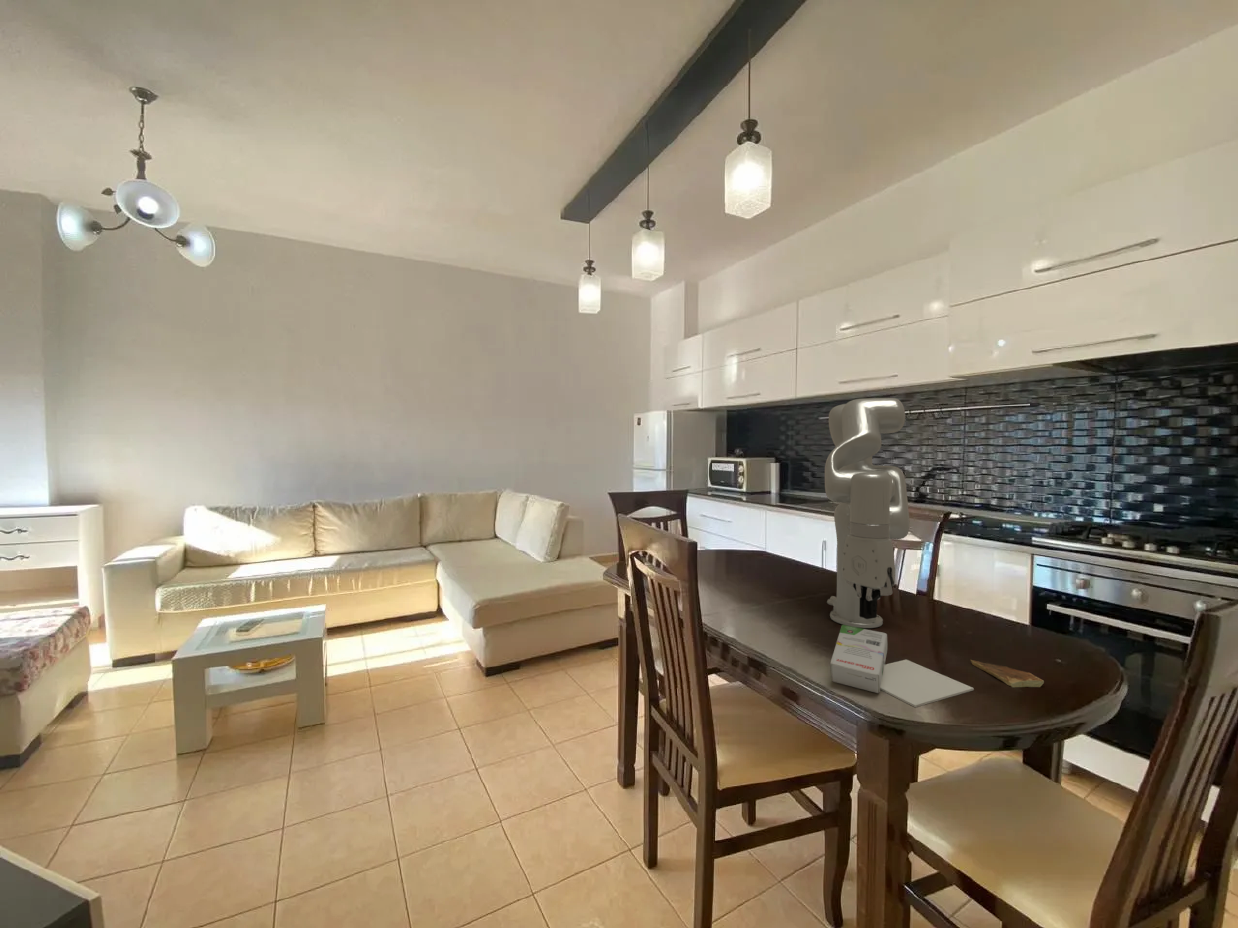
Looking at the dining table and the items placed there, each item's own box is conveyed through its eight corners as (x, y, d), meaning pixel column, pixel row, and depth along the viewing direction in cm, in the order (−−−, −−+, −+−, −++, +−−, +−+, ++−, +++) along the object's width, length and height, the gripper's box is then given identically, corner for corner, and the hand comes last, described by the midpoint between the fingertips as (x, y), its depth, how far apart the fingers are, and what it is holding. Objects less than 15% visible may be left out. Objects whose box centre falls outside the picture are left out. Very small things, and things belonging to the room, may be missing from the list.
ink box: (842, 642, 108) (830, 682, 99) (841, 623, 106) (829, 663, 97) (887, 651, 103) (879, 695, 94) (887, 632, 101) (879, 675, 93)
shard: (969, 665, 108) (969, 657, 108) (1004, 665, 108) (1004, 656, 108) (1010, 690, 97) (1010, 680, 97) (1049, 689, 97) (1049, 680, 97)
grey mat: (850, 674, 103) (850, 672, 103) (906, 661, 109) (906, 659, 109) (915, 707, 90) (915, 705, 90) (973, 690, 96) (973, 688, 96)
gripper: (828, 527, 113) (827, 609, 113) (887, 537, 99) (885, 631, 100) (854, 525, 116) (852, 605, 116) (914, 535, 102) (912, 626, 102)
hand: (868, 617), depth 108 cm, fingers closed
